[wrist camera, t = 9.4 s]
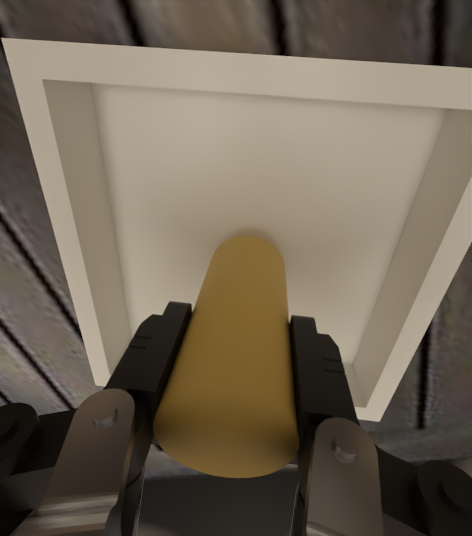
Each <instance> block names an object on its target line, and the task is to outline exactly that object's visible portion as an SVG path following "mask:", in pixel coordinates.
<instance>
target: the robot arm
mask: <svg viewBox="0 0 472 536" xmlns="http://www.w3.org/2000/svg"><path fill="white" fill-rule="evenodd" d="M191 315H192V304H191V303H183V302H174V301H169V303H168V304H167V306H166V308H165V310H164V312H163V315H156V314H152V315H151V316H149V317H148V318H147V319H146V320H144V321H143V322H142V323H141V324H140V326H139V327H138V329H137V331H136V333H135V334H134V338H132V340H131V342H130V343H129V345H128V348H127V349H126V350H125V352H124V354H123V356H122V358H121V359H120V361H119V363H118V365H117V366H116V368H115V370H114V372H113V374H112V375H111V377H110V379H109V381H108V383H107V384H106V386H105V388H104V389H103V390H101V391H99V392H96V393H94V394H93V395H91V396H89V397H88V398H87V399H86V400H84V401H83V402H82V403H81V405H80V406H79V407H78V408H76V409H73V410H68V411H63V412H57V413H51V414H46V415H40V416H38V415H37V413H36V411H35V409H34V408H33V407H32V406H30V405H28V404H25V403H12V404H7V405H4V406H1V407H0V536H136V533H137V526H138V518H139V511H140V502H141V495H142V488H143V481H144V473H145V461H146V458H147V455H148V452H149V449H150V446H151V444H155V445H159V443H158V442H157V440H156V438H155V436H154V432H153V422H154V418H155V415H156V412H157V410H158V407H159V404H160V402H161V399H162V396H163V393H164V390H165V388H166V385H167V382H168V379H169V376H170V374H171V371H172V368H173V365H174V362H175V360H176V357H177V354H178V351H179V348H180V346H181V343H182V340H183V337H184V334H185V332H186V329H187V326H188V323H189V320H190V318H191ZM289 326H290V339H291V352H292V365H293V377H294V390H295V403H296V416H297V428H298V438H299V446H298V451H297V453H296V455H295V457H294V458H293V460H292V461H291V462H290V463H288V464H295V465H298V474H299V483H298V486H297V490H296V496H295V504H294V512H293V520H292V527H291V534H290V536H472V478H471V477H470V476H469V475H468V474H467V473H465V472H464V471H463V470H461V469H460V468H458V467H456V466H454V465H452V464H450V463H447V462H444V461H439V460H432V461H428V462H426V463H424V464H423V465H422V466H421V467H420V468H419V467H417V466H415V465H413V464H410V463H408V462H406V461H404V460H402V459H399V458H397V457H395V456H393V455H391V454H389V453H387V452H385V451H383V450H382V449H380V448H379V447H378V446H376V445H375V444H374V443H373V441H372V439H371V438H370V436H369V435H368V434H367V433H366V431H365V430H364V429H362V428H361V426H360V424H359V422H358V419H357V415H356V411H355V407H354V404H353V400H352V396H351V392H350V389H349V385H348V381H347V377H346V375H345V370H344V366H343V363H342V358H341V354H340V351H339V347H338V346H337V344H336V343H335V342H334V340H333V339H332V338H331V336H330V335H329V334H320V333H317V328H316V323H315V319H314V317H307V316H298V315H292V316H291V318H290V323H289Z"/></svg>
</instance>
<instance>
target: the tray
mask: <svg viewBox="0 0 472 536" xmlns="http://www.w3.org/2000/svg"><path fill="white" fill-rule="evenodd" d="M1 39H2V43H3V46H4V50H5V54H6V57H7V61H8V65H9V68H10V72H11V76H12V79H13V83H14V87H15V90H16V94H17V98H18V101H19V105H20V109H21V112H22V116H23V120H24V123H25V127H26V131H27V135H28V138H29V142H30V146H31V149H32V153H33V157H34V160H35V164H36V168H37V171H38V175H39V179H40V182H41V186H42V190H43V193H44V197H45V201H46V204H47V208H48V212H49V215H50V219H51V223H52V226H53V230H54V234H55V237H56V241H57V245H58V249H59V252H60V256H61V260H62V263H63V267H64V271H65V274H66V278H67V282H68V285H69V289H70V293H71V296H72V300H73V304H74V307H75V311H76V315H77V318H78V322H79V326H80V329H81V333H82V337H83V340H84V344H85V348H86V351H87V355H88V359H89V363H90V366H91V370H92V374H93V377H94V381H95V385H97V386H106V384H107V383H108V381H109V379H110V377H111V375H112V374H113V372H114V370H115V368H116V366H117V365H118V363H119V361H120V359H121V358H122V356H123V354H124V352H125V350H126V349H127V348H128V345H129V343H130V342H131V340H132V338H134V334H135V333H136V331H137V329H138V327H139V326H140V324H141V323H142V322H143V321H144V320H146V319H147V318H148V317H149V316H151V315H152V314H156V315H163V312H164V310H165V308H166V306H167V304H168V303H169V301H174V302H183V303H191V304H192V312H193V309H194V306H195V303H196V301H197V298H198V295H199V292H200V289H201V287H202V284H203V281H204V278H205V275H206V273H207V270H208V267H209V264H210V261H211V259H212V256H213V254H214V252H215V251H216V249H217V248H218V247H219V246H220V245H221V244H222V243H224V242H225V241H227V240H229V239H231V238H234V237H239V236H254V237H258V238H261V239H264V240H266V241H268V242H269V243H271V244H272V245H273V246H274V247H275V248H276V249H277V250H278V251H279V252H280V254H281V256H282V257H283V260H284V264H285V274H286V286H287V299H288V312H289V323H290V318H291V316H292V315H298V316H307V317H314V319H315V323H316V328H317V333H320V334H329V335H330V336H331V338H332V339H333V340H334V342H335V343H336V344H337V346H338V347H339V351H340V354H341V358H342V363H343V366H344V370H345V375H346V377H347V381H348V385H349V389H350V392H351V396H352V400H353V404H354V407H355V411H356V415H357V419H362V420H370V421H378V422H379V421H380V419H381V417H382V416H383V414H384V412H385V410H386V408H387V406H388V404H389V402H390V400H391V398H392V396H393V394H394V392H395V390H396V388H397V386H398V384H399V382H400V380H401V378H402V377H403V375H404V373H405V371H406V369H407V367H408V365H409V363H410V361H411V359H412V357H413V355H414V353H415V351H416V349H417V347H418V345H419V343H420V341H421V339H422V338H423V336H424V334H425V332H426V330H427V328H428V326H429V324H430V322H431V320H432V318H433V316H434V314H435V312H436V310H437V308H438V306H439V304H440V302H441V300H442V299H443V297H444V295H445V293H446V291H447V289H448V287H449V285H450V283H451V281H452V279H453V277H454V275H455V273H456V271H457V269H458V267H459V265H460V263H461V261H462V260H463V258H464V256H465V254H466V252H467V250H468V248H469V246H470V244H471V242H472V68H461V67H446V66H430V65H415V64H399V63H384V62H368V61H353V60H337V59H322V58H306V57H291V56H275V55H260V54H244V53H228V52H213V51H197V50H182V49H166V48H151V47H135V46H120V45H104V44H89V43H73V42H58V41H42V40H27V39H11V38H1Z"/></svg>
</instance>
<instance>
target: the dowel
mask: <svg viewBox="0 0 472 536" xmlns="http://www.w3.org/2000/svg"><path fill="white" fill-rule="evenodd" d="M153 432H154V436H155V438H156V440H157V442H158V443H159V445H160V446H161V448H162V449H163V450H164V451H165V452H166V453H167V454H168V455H170V456H171V457H172V458H174V459H175V460H176V461H178V462H180V463H181V464H183V465H185V466H187V467H189V468H192V469H194V470H197V471H200V472H203V473H206V474H210V475H215V476H221V477H229V478H250V477H257V476H263V475H266V474H270V473H273V472H275V471H277V470H279V469H281V468H283V467H284V466H286V465H287V464H288V463H290V462H291V461H292V460H293V458H294V457H295V455H296V453H297V451H298V446H299V438H298V428H297V416H296V403H295V390H294V377H293V365H292V352H291V339H290V326H289V312H288V299H287V286H286V274H285V264H284V260H283V257H282V256H281V254H280V252H279V251H278V250H277V249H276V248H275V247H274V246H273V245H272V244H271V243H269V242H268V241H266V240H264V239H261V238H258V237H254V236H239V237H234V238H231V239H229V240H227V241H225V242H224V243H222V244H221V245H220V246H219V247H218V248H217V249H216V251H215V252H214V254H213V256H212V259H211V261H210V264H209V267H208V270H207V273H206V275H205V278H204V281H203V284H202V287H201V289H200V292H199V295H198V298H197V301H196V303H195V306H194V309H193V312H192V315H191V318H190V320H189V323H188V326H187V329H186V332H185V334H184V337H183V340H182V343H181V346H180V348H179V351H178V354H177V357H176V360H175V362H174V365H173V368H172V371H171V374H170V376H169V379H168V382H167V385H166V388H165V390H164V393H163V396H162V399H161V402H160V404H159V407H158V410H157V412H156V415H155V418H154V422H153Z"/></svg>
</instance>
